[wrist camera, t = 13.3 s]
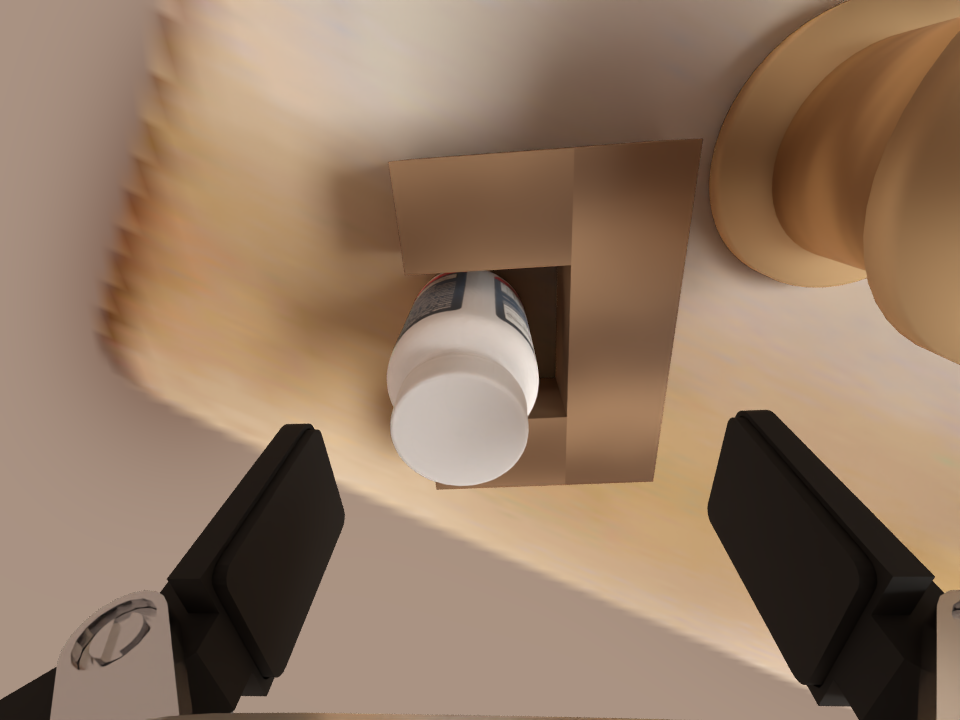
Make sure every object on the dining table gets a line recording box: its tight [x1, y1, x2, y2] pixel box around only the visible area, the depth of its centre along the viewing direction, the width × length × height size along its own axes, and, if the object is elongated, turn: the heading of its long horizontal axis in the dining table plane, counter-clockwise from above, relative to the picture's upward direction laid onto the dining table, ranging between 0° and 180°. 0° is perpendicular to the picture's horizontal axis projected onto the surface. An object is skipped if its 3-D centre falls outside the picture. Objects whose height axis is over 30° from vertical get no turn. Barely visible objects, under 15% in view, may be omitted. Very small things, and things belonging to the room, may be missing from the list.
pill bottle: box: [387, 270, 539, 486], centre depth 16 cm, size 5×5×9 cm
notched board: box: [388, 139, 703, 490], centre depth 18 cm, size 14×10×4 cm
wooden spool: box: [709, 0, 960, 365], centre depth 13 cm, size 10×10×9 cm
